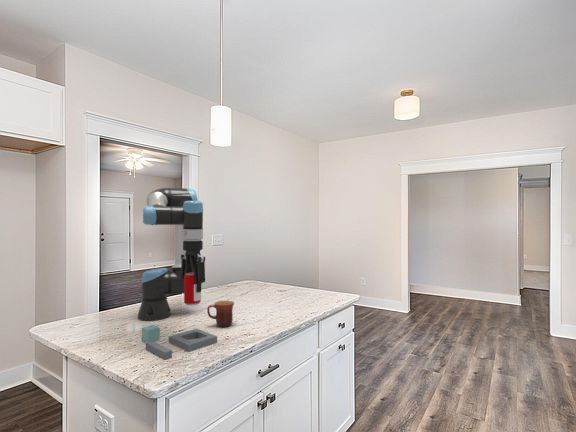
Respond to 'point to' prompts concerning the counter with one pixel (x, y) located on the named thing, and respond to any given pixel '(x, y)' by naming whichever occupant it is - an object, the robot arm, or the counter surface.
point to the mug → (222, 313)
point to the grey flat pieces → (183, 342)
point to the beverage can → (189, 289)
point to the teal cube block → (150, 333)
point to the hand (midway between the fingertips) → (192, 298)
